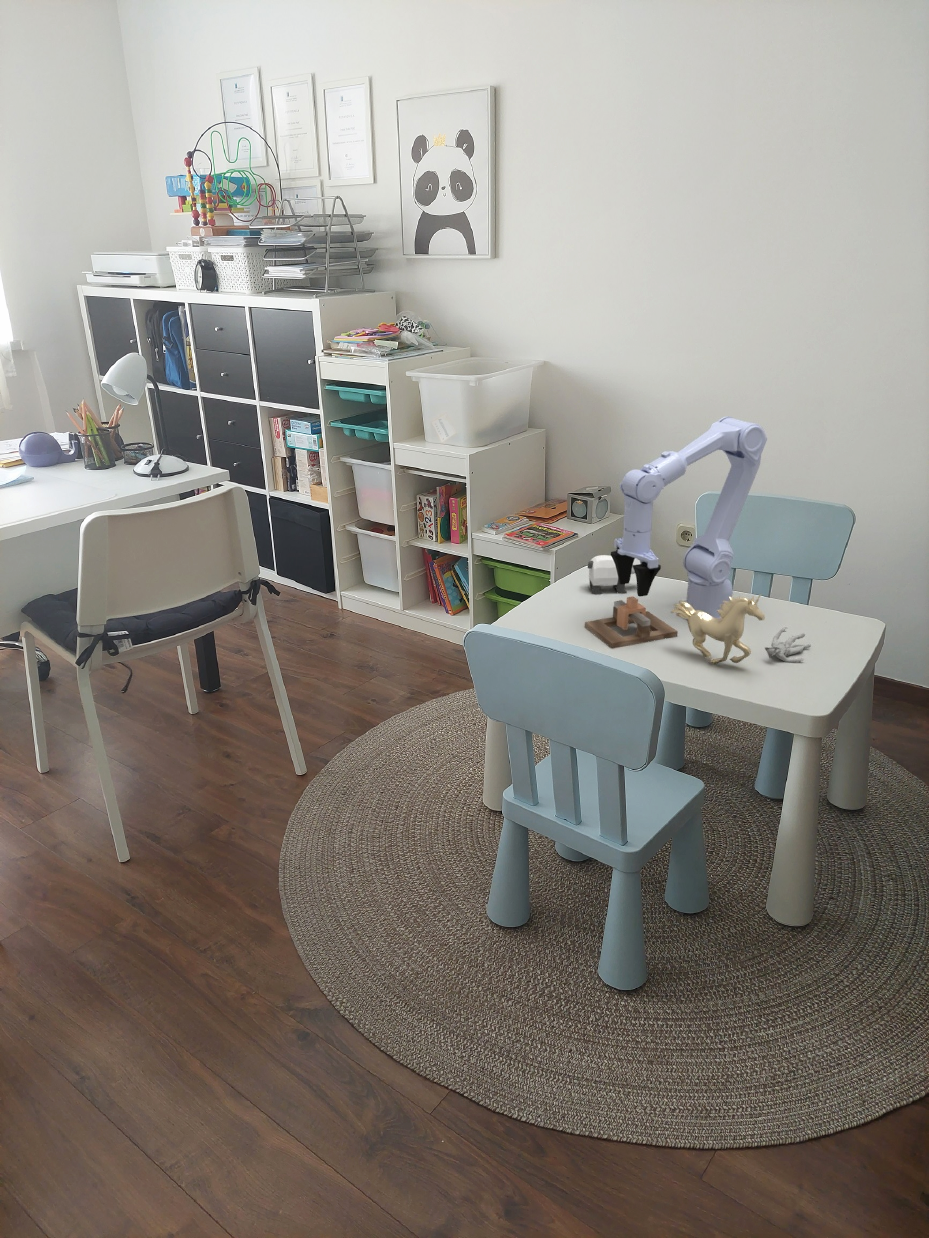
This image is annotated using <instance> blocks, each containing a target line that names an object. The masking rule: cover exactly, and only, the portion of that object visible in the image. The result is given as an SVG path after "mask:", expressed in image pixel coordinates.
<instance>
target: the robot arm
mask: <svg viewBox="0 0 929 1238" xmlns="http://www.w3.org/2000/svg"><path fill="white" fill-rule="evenodd" d="M767 441H768V437H767V435H766V433H765V430H764V428H763V427H762V426H761V425H760V424H759V423H754V422H753V423H752V422H748V421H745V420H741V419H737V418H733V417H732V416H723V417H722V418H720V419H719V420H717V421H715V422H713V423H711V425H710V428H709V429H708V430H706V431H705V432H704V433H702V434H701V435H700V436H698V437H697V438H696V439H694V440H693V441H691V442H690V443H689V444H687V445H686V446H685V447H684V448H682V449H680V450H679V451H675V450H674V451H673V450H669V451H667V450H664V451H663V452H662V453H660V456H658V457H657V458H656V459H654V460H653V461H651V462H650V463H645V464H644V465H643V466H642V467H641V468H640V469H636V468H635V469H631V470H630V471H628V472H626V474H625V475H624V477H623V479H622V480H621V481H622V482H620V483H619V487H620V488H619V489H620V491H621V493H622V495H623V503H624V514H623V530H622V537H621V538H615V539H614V541H613V542H614V543H613V544H614V545H613V546H614V547H613V548H614V549H616V550H613V551H611V552H610V556H612V558H613V560H614V563H615V566H616V570H617V574H618V580H619V584H625V585H626V584H630V581H631V576H632V574H631V571H632V566H633V568H634V571H635V578H636V595H637V596H638V597H641V598H642V597H646V596H649V593H650V589H651V587H652V585H653V582H654V580H655V577H656V576H657V574H658V573H659V571H661V568H662V565H661V564H660V563H659V560H660V558H658V557H657V556H656V554H654V552H653V550H652V549H651V540H652V539H651V538H652V537H651V536H652V524H653V512H654V511H653V510H654V501H656V500H657V499H658V497H659V495H660V493H661V491H662V490H664V488H665V487H667V486H668V485H670V484H671V483H674V482H675V481H676V480H678V479H679V478H681V477H682V476H685V474H686V470H687V467H688V466H691V464H694V463H696V462H698V461H700V460H702V459H703V458H706V456H709V455H711V454H712V453H714V452H716V451H718V450H719V451H722V452H723V453H724V454H725V455H726V456H727V459H728V461H729V463H730V468H729V470H728V473H727V475H726V478H725V481H724V484H723V487H722V489H721V490H720V493H719V496H718V498H717V502H716V504H715V507H714V509H713V511H712V514H711V517H710V519H709V520H708V524H707V526H706V529H705V531H704V534H702V535H700V536H697V537H696V538H694V540H693V542H692V544H691V545H690V546H689V548H688V549H687V550H686V552H685V554H684V556H683V558H682V566H683V568H684V569H685V570H686V572H687V577H688V580H687V581H688V582H687V584H688V585H687V592H686V601H685V602H687V603H689V604H690V605H691V606H692V607H693V608H694V609H695V610H700V611H704V612H706V613H708V614H709V615H710V616H712V617H714V618H721V617H720V615H719V614H718V613H719V612H718V611H717V610H718V609H722V608H721V607H720V606H719V605H722V604H724V603H723V601H730V598H729V596H730V597H732V598H733V595H734V594H733V592H734V591H733V585H732V582H731V581H730V579H728V578H729V576H730V573H731V571H732V561H733V558H734V556H735V554H734V551H733V549H732V546H731V545H730V540H731V537H732V535H733V533H734V530H735V528H736V525H737V522H738V521H739V518H740V516H741V514H742V513H741V512H742V511H743V509H744V506H745V503H746V501H747V498H748V495H749V493H750V490H751V488H752V485H753V483H754V480H755V478H756V476H757V475H758V471H759V468H760V466H761V460H762V453H763V450H764V448H765V446H766V444H767ZM635 558H636V559H638V560H640V561H641V562H642V564H638V565H633V562H634V559H635Z"/></svg>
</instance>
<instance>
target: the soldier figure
mask: <svg viewBox="0 0 929 1238" xmlns="http://www.w3.org/2000/svg"><path fill="white" fill-rule="evenodd" d="M788 628H789V627H782V628H781V629H780V630H779V631H778V632H776V634H775V635H774V636H773V638H772V640H771V647H765V646H764V650H765V651H766V653H767V655H768V657H769V659H771V657H773V656H774V655H775V656H776V657H777V659H780V660H781V661H783V662H785V663H802V660H803V657H799V658H790V657H788V656H792V655H796V654H797V653H802V652H803V651H804V649H805V650H806V649H810V648H811V647H812V645H811V644H810V643H806V644H803V645H801V646H800V645H798V646H795V647H791V646H792V645H793V643H795V642H796V640H800V639H803V638H804V637H806V633H805V632H803V633H799V634H798V635H791V637H788V639H787V640H786V641H784V642H783V641H780V642H779V641H778V640H779V639H780V637H781V635H782V633H783V632H784V633H785V632H787V629H788Z"/></svg>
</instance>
